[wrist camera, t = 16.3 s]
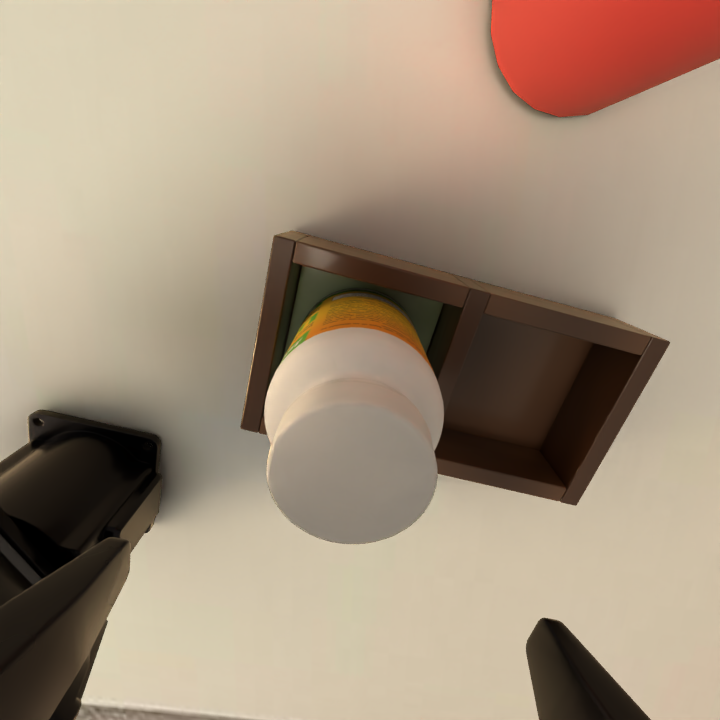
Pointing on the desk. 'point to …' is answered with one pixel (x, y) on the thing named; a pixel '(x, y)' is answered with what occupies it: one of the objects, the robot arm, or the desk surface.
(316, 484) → the supplement bottle
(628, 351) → the organizer
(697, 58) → the beer can
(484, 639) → the desk surface
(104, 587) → the robot arm
